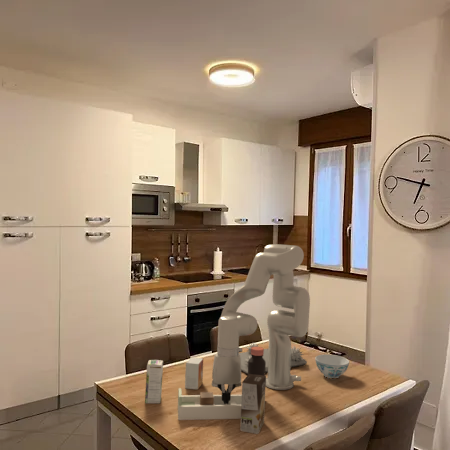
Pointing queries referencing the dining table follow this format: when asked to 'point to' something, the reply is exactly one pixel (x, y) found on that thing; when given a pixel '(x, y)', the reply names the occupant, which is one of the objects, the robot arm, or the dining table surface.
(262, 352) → the bottle
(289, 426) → the dining table surface
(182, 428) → the dining table surface
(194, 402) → the tray
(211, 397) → the walnut block
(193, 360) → the small box
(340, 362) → the chinaware
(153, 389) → the syrup box
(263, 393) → the coffee box
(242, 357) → the decorative tray
